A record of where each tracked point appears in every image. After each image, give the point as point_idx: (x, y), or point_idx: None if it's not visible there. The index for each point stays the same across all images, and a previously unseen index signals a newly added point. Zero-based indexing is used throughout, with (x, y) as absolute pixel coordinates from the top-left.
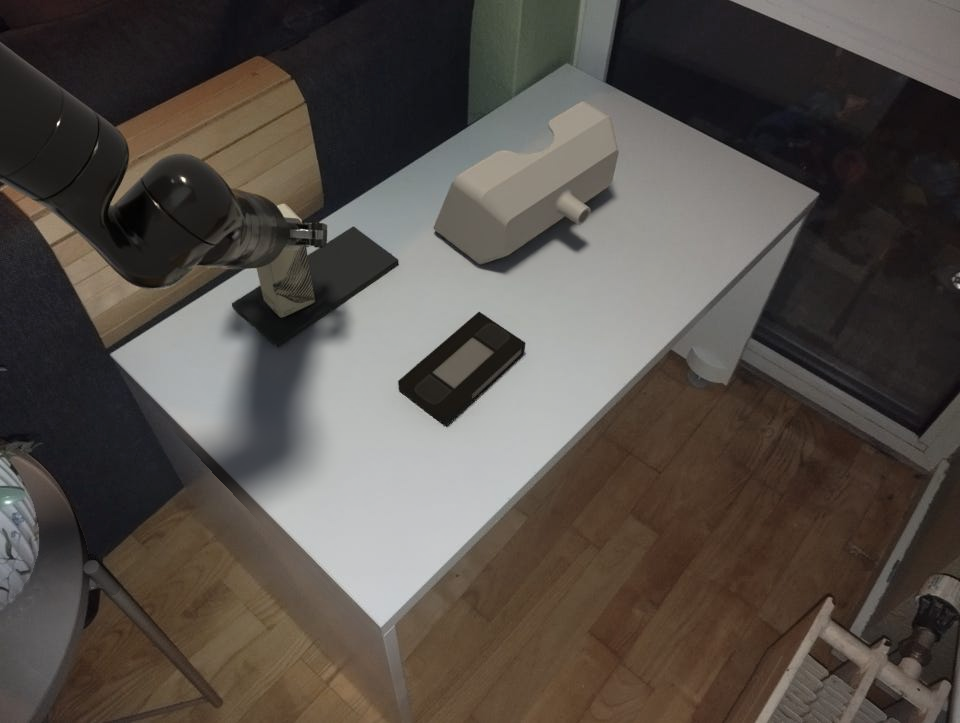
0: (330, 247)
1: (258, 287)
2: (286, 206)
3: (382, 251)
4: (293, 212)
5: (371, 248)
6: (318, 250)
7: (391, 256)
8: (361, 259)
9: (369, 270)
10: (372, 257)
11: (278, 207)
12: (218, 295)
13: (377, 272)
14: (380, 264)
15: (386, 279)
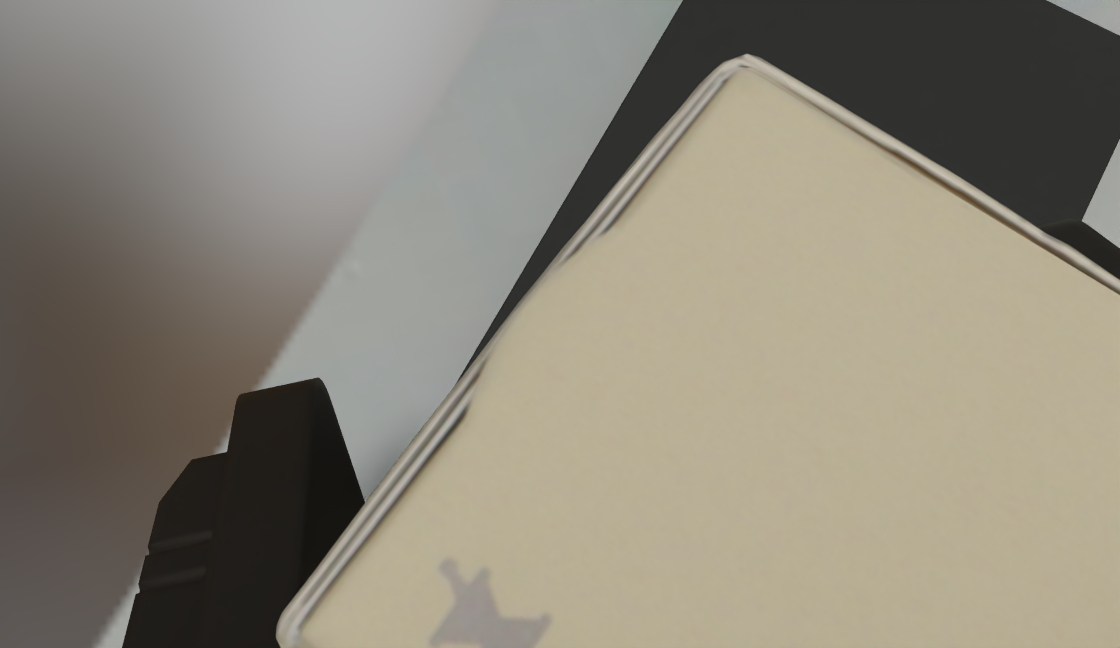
0: (699, 68)
1: None
2: (826, 114)
3: (1032, 16)
4: (1010, 218)
5: (957, 10)
6: (634, 112)
7: (1105, 41)
8: (937, 115)
9: (1027, 190)
10: (997, 80)
11: (731, 186)
12: (116, 639)
13: (1085, 193)
14: (1072, 123)
15: (1113, 209)
